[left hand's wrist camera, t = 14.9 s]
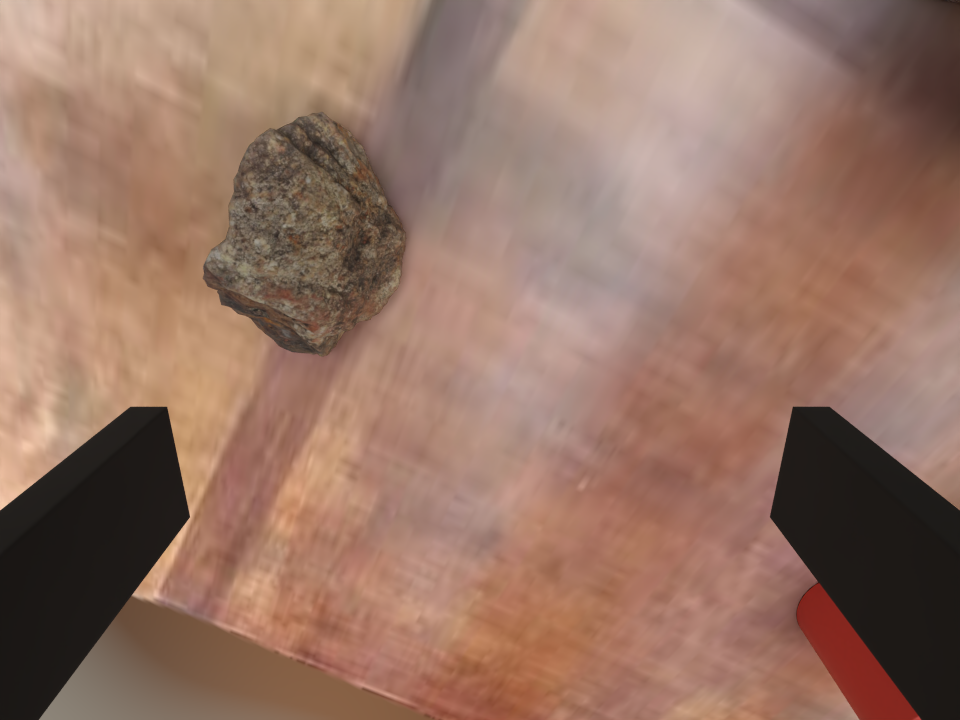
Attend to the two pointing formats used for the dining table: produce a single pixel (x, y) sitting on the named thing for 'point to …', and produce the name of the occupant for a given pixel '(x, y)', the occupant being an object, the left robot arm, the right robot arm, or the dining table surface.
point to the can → (850, 660)
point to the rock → (307, 237)
